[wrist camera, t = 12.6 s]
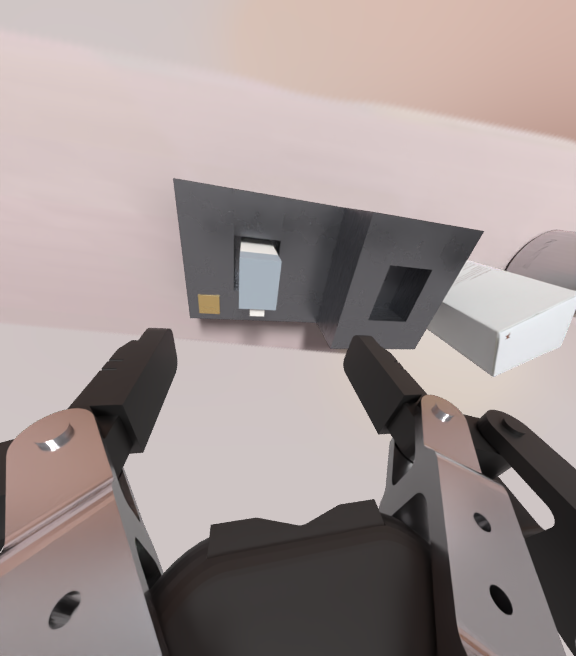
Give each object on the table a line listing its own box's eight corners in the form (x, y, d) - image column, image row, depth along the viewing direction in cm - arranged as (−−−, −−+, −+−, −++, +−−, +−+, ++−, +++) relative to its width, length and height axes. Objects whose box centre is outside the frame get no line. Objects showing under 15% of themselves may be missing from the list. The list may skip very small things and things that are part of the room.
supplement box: (412, 320, 33) (491, 380, 22) (406, 281, 28) (499, 332, 18) (458, 297, 32) (562, 348, 21) (458, 254, 28) (588, 291, 17)
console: (410, 219, 24) (483, 231, 16) (372, 310, 30) (414, 349, 23) (186, 180, 19) (146, 172, 11) (197, 301, 25) (177, 347, 17)
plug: (270, 240, 22) (281, 261, 15) (266, 284, 24) (274, 318, 18) (241, 237, 21) (239, 257, 14) (240, 282, 23) (238, 317, 17)
